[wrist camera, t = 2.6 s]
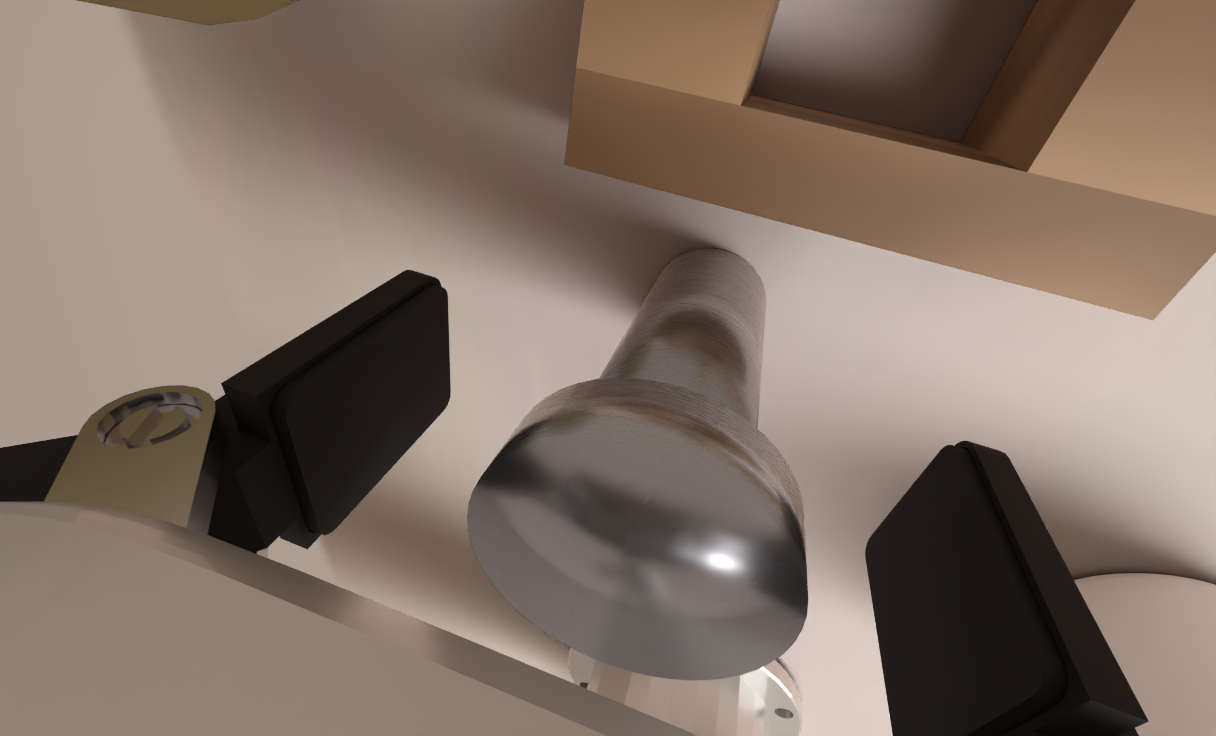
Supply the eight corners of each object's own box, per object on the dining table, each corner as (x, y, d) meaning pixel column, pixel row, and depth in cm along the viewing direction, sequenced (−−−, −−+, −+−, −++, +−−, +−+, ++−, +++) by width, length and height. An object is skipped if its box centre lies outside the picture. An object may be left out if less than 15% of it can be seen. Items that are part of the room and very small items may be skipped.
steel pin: (758, 390, 17) (735, 718, 9) (617, 345, 18) (464, 605, 9) (821, 248, 14) (881, 528, 6) (649, 202, 15) (470, 387, 6)
